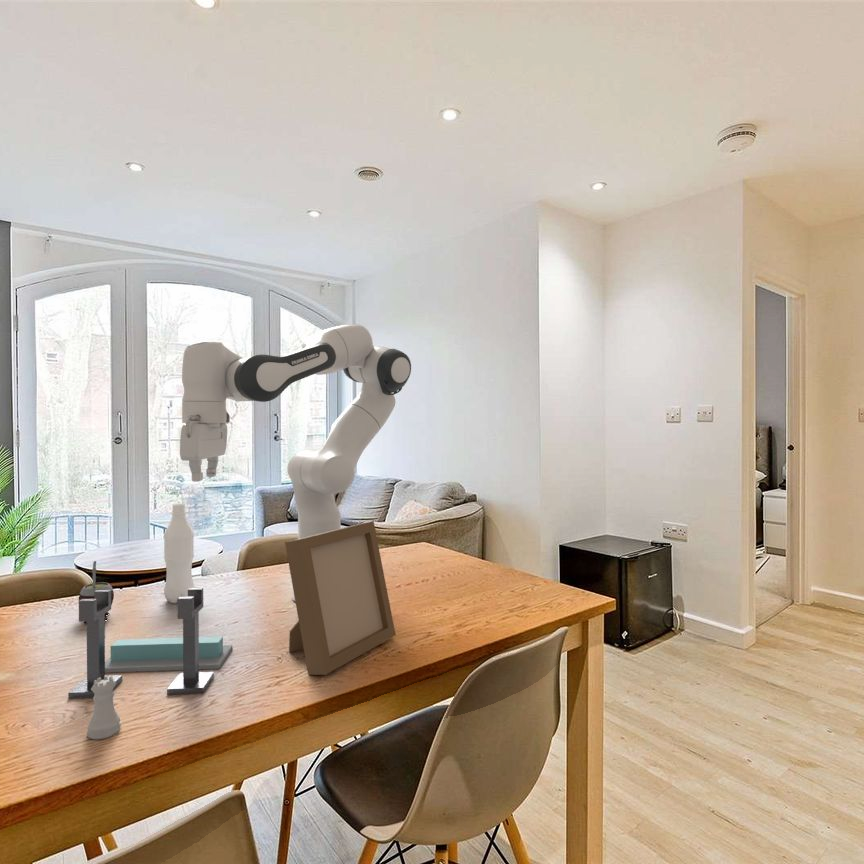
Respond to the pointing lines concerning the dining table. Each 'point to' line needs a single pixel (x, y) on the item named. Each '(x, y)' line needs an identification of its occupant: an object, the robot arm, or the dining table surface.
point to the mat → (165, 663)
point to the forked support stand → (183, 683)
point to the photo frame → (338, 596)
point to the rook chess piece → (103, 710)
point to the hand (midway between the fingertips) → (204, 478)
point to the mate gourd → (89, 589)
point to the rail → (162, 648)
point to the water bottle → (178, 555)
